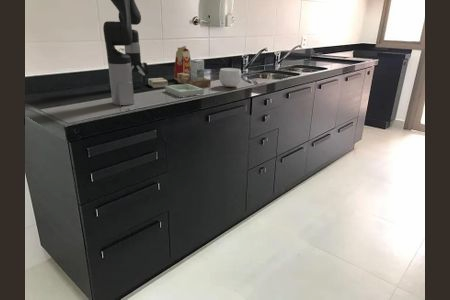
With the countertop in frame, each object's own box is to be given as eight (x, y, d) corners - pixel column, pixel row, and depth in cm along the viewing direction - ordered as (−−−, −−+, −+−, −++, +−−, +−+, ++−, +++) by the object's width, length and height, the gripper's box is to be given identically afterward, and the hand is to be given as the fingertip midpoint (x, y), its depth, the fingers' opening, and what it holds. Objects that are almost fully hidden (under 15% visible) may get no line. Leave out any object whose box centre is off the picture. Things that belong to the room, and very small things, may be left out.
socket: (210, 86, 177) (210, 79, 175) (193, 88, 170) (193, 81, 169) (199, 83, 185) (199, 76, 183) (183, 85, 178) (183, 78, 177)
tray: (203, 94, 158) (203, 89, 157) (180, 97, 151) (180, 91, 150) (187, 88, 170) (187, 83, 169) (165, 91, 162) (165, 86, 161)
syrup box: (196, 84, 181) (196, 58, 176) (204, 86, 178) (204, 59, 172) (189, 86, 177) (189, 59, 172) (197, 87, 174) (196, 60, 168)
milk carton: (194, 79, 196) (193, 45, 188) (182, 81, 190) (181, 46, 182) (184, 77, 202) (183, 44, 194) (173, 79, 196) (171, 45, 188)
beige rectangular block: (167, 87, 174) (167, 80, 173) (153, 88, 171) (153, 81, 169) (162, 84, 182) (162, 77, 181) (148, 84, 179) (148, 78, 177)
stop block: (190, 83, 184) (190, 74, 182) (184, 84, 181) (184, 75, 179) (183, 81, 189) (183, 72, 188) (177, 81, 187) (177, 73, 185)
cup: (245, 87, 178) (246, 69, 175) (230, 90, 170) (231, 72, 166) (229, 83, 186) (229, 67, 182) (214, 86, 177) (214, 69, 174)
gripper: (121, 52, 155) (124, 85, 161) (148, 51, 163) (150, 83, 169) (116, 51, 161) (119, 83, 167) (142, 50, 169) (144, 80, 175)
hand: (135, 83), depth 168 cm, fingers open, 8 cm apart
